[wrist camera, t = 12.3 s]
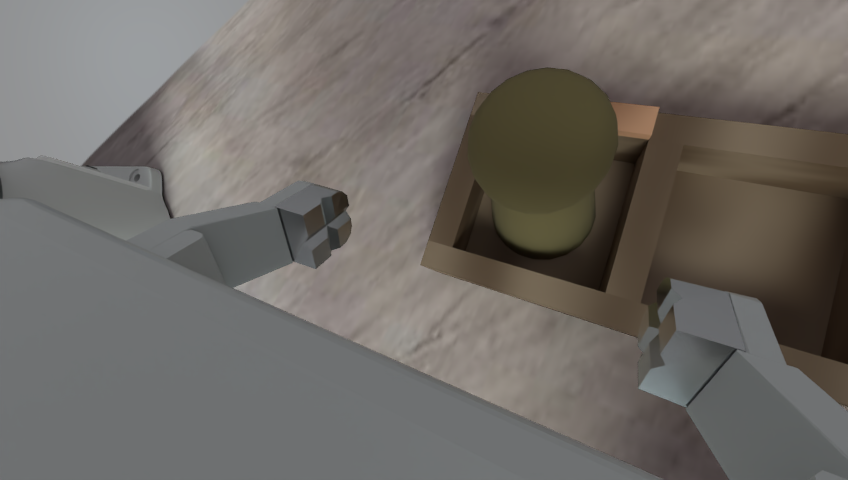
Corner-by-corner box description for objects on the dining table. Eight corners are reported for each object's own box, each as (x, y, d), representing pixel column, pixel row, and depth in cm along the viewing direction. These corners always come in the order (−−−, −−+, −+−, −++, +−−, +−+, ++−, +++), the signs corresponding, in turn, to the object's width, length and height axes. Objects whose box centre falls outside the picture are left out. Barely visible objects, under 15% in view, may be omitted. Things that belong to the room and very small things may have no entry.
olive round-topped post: (520, 151, 23) (497, 18, 12) (615, 187, 20) (683, 61, 10) (475, 232, 23) (415, 167, 12) (565, 278, 20) (584, 243, 10)
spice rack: (439, 272, 24) (417, 263, 20) (489, 118, 25) (478, 80, 21) (842, 405, 16) (939, 435, 12) (891, 175, 17) (996, 133, 13)
